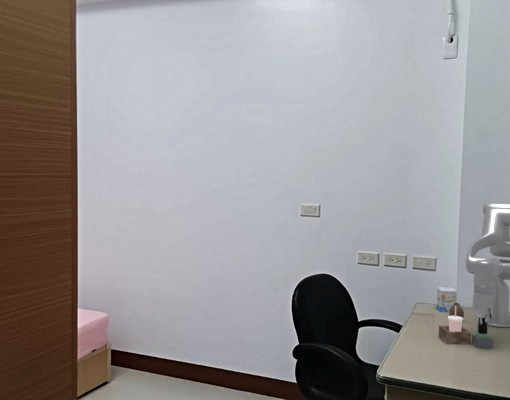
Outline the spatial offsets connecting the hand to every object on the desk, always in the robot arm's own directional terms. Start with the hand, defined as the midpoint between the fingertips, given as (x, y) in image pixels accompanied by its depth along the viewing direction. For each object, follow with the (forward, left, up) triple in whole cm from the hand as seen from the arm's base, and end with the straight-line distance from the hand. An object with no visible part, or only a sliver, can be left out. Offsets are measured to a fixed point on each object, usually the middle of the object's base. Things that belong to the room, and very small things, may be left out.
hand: (482, 333), depth 208 cm
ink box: (-7, -60, -6) cm, 61 cm away
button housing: (0, 0, -6) cm, 6 cm away
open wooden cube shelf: (+9, -7, -6) cm, 13 cm away
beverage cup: (+9, -7, -5) cm, 12 cm away
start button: (0, 0, -5) cm, 5 cm away
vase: (-4, -39, -6) cm, 40 cm away
